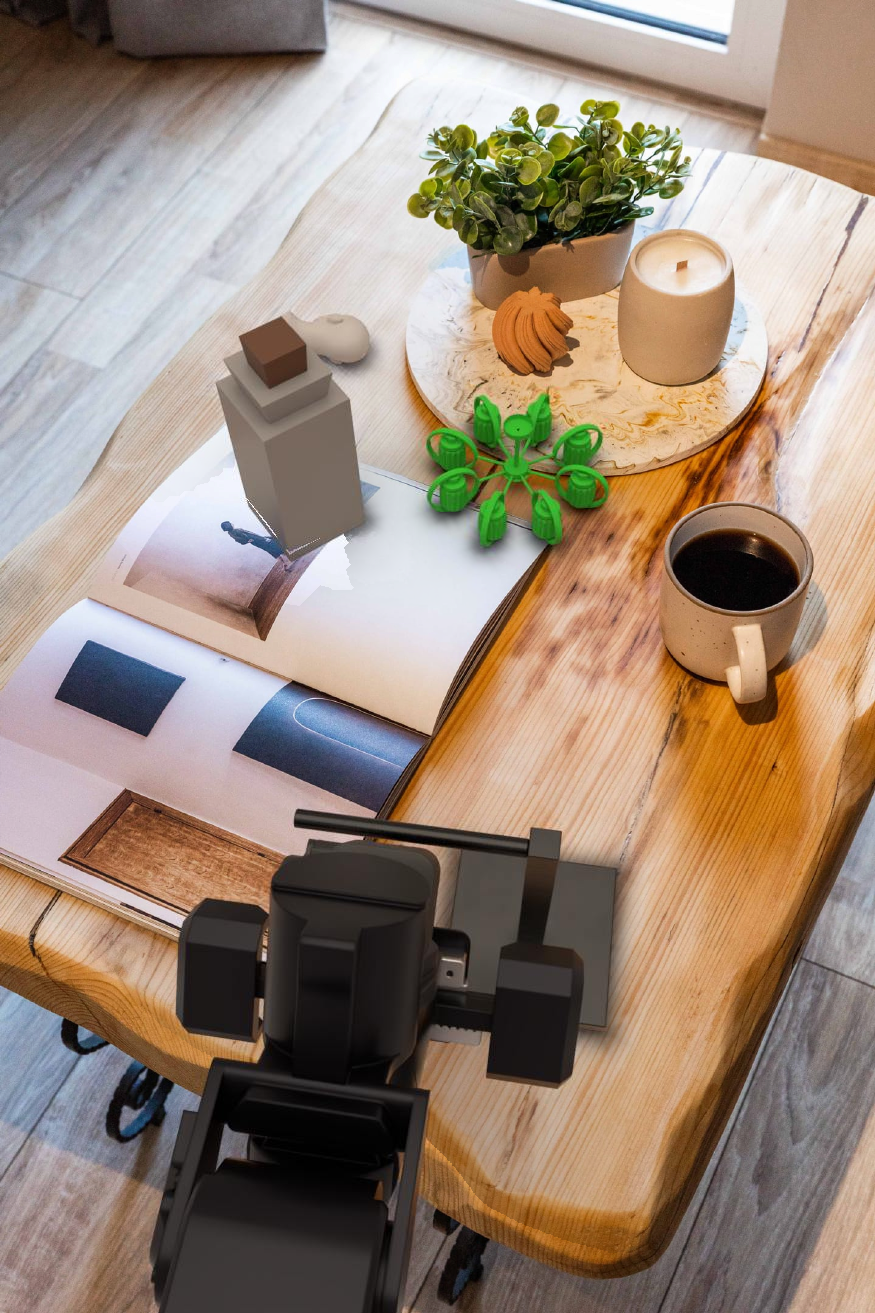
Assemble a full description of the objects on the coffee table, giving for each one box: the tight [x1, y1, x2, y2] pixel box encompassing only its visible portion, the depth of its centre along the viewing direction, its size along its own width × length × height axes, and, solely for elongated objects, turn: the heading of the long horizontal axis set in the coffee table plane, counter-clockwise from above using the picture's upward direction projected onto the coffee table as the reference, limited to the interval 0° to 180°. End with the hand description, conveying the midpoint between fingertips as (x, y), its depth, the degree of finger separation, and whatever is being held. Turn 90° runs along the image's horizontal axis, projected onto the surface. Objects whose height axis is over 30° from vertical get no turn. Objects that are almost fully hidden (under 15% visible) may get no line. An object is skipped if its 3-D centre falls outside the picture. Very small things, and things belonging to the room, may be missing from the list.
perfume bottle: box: [215, 315, 366, 563], centre depth 80 cm, size 7×7×18 cm
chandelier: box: [425, 392, 610, 548], centre depth 86 cm, size 15×15×7 cm
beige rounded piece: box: [281, 311, 371, 365], centre depth 96 cm, size 4×8×5 cm
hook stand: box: [293, 808, 618, 1033], centre depth 63 cm, size 10×18×16 cm, turn 82°
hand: (404, 912), depth 60 cm, fingers closed
